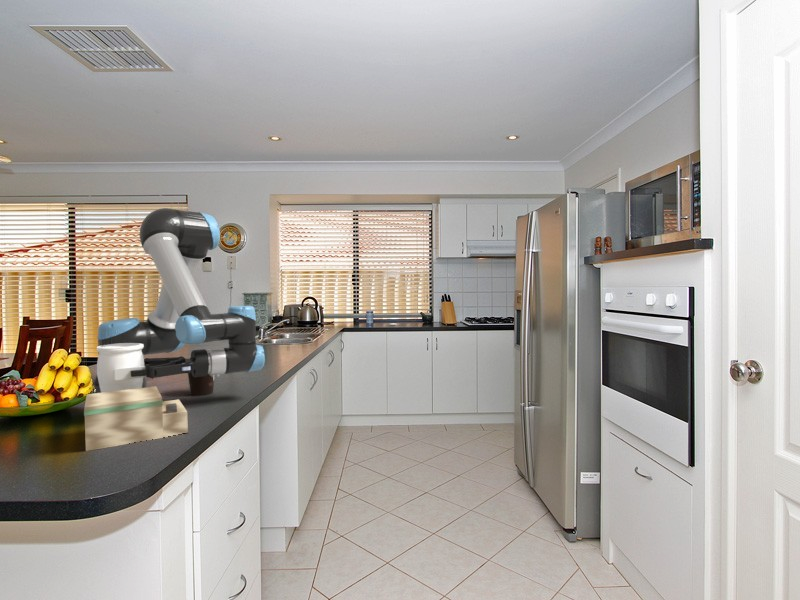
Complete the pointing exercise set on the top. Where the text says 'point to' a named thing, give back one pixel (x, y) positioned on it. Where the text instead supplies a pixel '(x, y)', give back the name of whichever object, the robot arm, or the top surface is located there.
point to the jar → (118, 365)
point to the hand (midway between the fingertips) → (114, 370)
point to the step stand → (131, 417)
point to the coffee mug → (201, 385)
